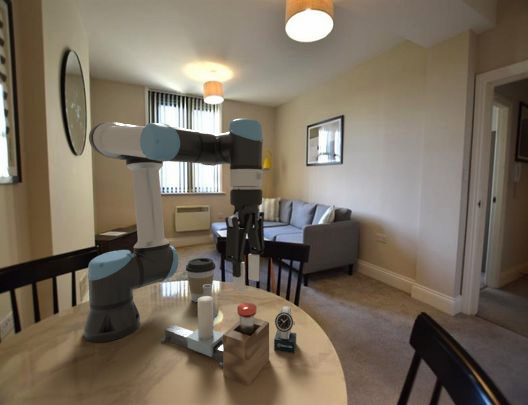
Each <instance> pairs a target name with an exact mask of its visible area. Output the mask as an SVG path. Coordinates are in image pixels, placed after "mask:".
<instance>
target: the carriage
mask: <svg viewBox="0 0 528 405" xmlns="http://www.w3.org/2000/svg"><path fill="white" fill-rule="evenodd" d="M213 299H214V297H213V298H212V297H210V296H203V297H200V298H198V303H197V314H198V316H197V329H196V330H194V331H193V333H192V334H190V335H189V336H187V341H188V348H190V349H189V350H191V349H193V350H195V351H194V352H196V351H198V352H200V353H199V354H201V353H203V354H205V355H204V356H206V355H208V356H210V357H209V358H211V357H212V356H213V347H214V346H215V345H216V344H218V343H219V342H220V341H221V342H223V334H224V333H225V332H224V333H223V332H221V331H217V330H215V329H214V317H213ZM188 348H187V349H188ZM193 350H192V351H193ZM198 352H197V353H198ZM203 354H202V355H203ZM208 356H207V357H208Z"/></svg>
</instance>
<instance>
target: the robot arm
mask: <svg viewBox="0 0 528 405" xmlns="http://www.w3.org/2000/svg"><path fill="white" fill-rule="evenodd" d="M88 141H89V145H90V146H91V148H92V149H93V150H94V151H95V152H96V153H98V154H99V155H101V156H102V157H105V158H108V159H114V160H120V161H121V160H122V161H125V163H126V168H127V169H129V170H130V171H131V175H132V186H133V198H134V211H135V222H136V233H137V241H136V243H135V244H134V246H133V252H131V251H130V250H129V249H119V250H113V251H108V252H104V253H102V254H100V255H97V256H96V257H94V258H92V259H91V260H90V261H89V263H88V267H87V279H88V295H89V311H88V313H87V317H86V321H85V324H84V326H83V337H84V339H85V340H87V341H89V342H93V343H105V342H111V341H115V340H118V339H121V338H124V337H126V336H127V335H130V334H131V333H133V332H134V331H136V330H137V329H138V328H139V327H140V324H141V316H140V312H139V310H138V307H137V305H136V303H135V300H134V291H135V290H137V289H141V288H144V287H148V286H150V285H154V284H157V283H162V282H164V281H166V280H169V279H171V278H172V277H174V275H175V274H176V273H177V270H178V267H179V255H178V252H177V250H176V248H175V247H174V246H172V245H171V243H170V241H169V240H168V239H167V238H166V237H165V224H164V217H163V216H164V215H163V214H164V213H163V203H162V191H161V180H160V179H161V178H160V170H161V169H162V167H164V162H177V163H178V162H179V163H191V164H200V165H202V166H213V167H214V166H218V165H228V164H229V187H232V189H231V190H230V192H229V197H230V199H229V201H230V205H231V206H233V207H234V210H233V214H232V215H231V216H226V217H225V225H226V226H225V227H226V237H225V239H226V241H225V261H226V262H229V263H231V264H232V265H231V266H232V289H233V290H236V291H239V292H240V291H241V292H244V291H245V290H246V281H245V280H246V277H245V276H246V275H245V274H246V269H245V268H246V266H245V265H246V264H245V263H246V262H245V261H244V253H245V247H246V241H248V246H249V251H250V253H248V260H247V261H248V280H249V281H255V282H259V281H260V255H263V254H264V250H265V233H264V232H265V229H264V221H265V220H264V219H265V212H264V211H259V208H258V206H261V205H263V190H262V189H260V188H261V187H263V178H264V174H263V143H264V142H263V141H264V139H263V127H262V124H261V122H260V121H258V120H256V119H251V118H237V119H233V120H232V121H230V122H229V129H228V132H223V133H211V132H206V131H202V130H201V131H200V130H194V129H188V128H185V127H179V126H174V125H173V126H172V125H169V124H166V123H156V122H150V123H149V122H148V123H147V124H146V125H145V126H143V125H142V126H141V125H134V124H127V123H121V122H114V121H107V122H106V121H104V122H100V123H97V124H95V125H94V126H93V127H92V128H91V129H90V130H89V133H88ZM246 239H247V240H246Z"/></svg>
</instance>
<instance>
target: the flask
mask: <svg viewBox="0 0 528 405" xmlns="http://www.w3.org/2000/svg"><path fill="white" fill-rule="evenodd" d="M211 288H212V289H213V284H212V285H210V284H205V285H203V289H204V293H203V296H210V297H212V298H213V318H214V317H215V316H217V315H218V314H219V310H218V306H217V304H216V302H215V299H214V296H213V291H212V292H211ZM197 317H198V313H197Z"/></svg>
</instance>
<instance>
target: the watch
mask: <svg viewBox="0 0 528 405" xmlns="http://www.w3.org/2000/svg"><path fill="white" fill-rule="evenodd" d="M274 325H275V328H276V333H275V336H274V338H273V350H274V351H277V352H284V353H290V354H295V353H296V347H297V332H291V331H292V329H293V327H294V326H295V325H296V321H294V318H293V315H292V308H291V307H290V306H284V305H283V306H281V309H280V310H279V311H278V313H277V315H276V317H275V319H274Z"/></svg>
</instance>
